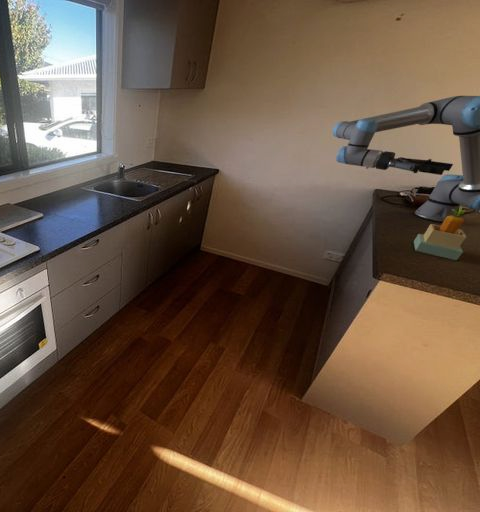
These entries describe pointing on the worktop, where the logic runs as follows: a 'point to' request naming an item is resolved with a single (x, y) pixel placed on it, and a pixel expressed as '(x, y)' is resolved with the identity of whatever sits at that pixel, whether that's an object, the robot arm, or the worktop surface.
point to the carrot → (452, 222)
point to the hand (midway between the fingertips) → (447, 169)
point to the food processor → (440, 242)
